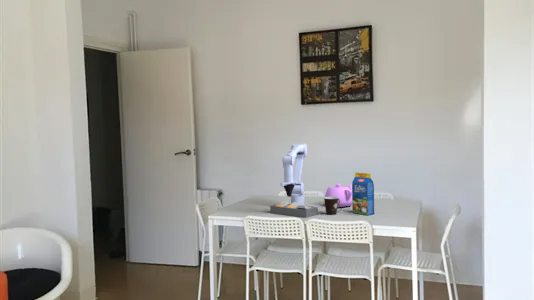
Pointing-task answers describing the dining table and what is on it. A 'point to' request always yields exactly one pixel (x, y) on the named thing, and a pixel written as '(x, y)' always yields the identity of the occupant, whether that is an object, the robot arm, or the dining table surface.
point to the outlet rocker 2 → (294, 205)
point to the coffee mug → (331, 205)
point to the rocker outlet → (304, 207)
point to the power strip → (294, 211)
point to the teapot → (341, 194)
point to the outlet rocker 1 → (283, 203)
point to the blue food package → (363, 194)
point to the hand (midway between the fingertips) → (289, 196)
